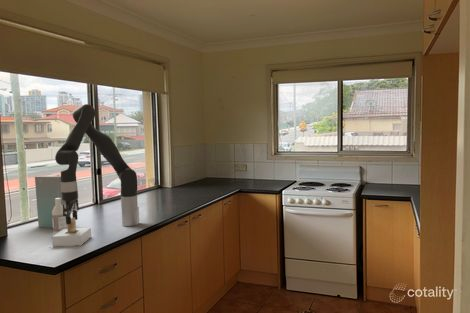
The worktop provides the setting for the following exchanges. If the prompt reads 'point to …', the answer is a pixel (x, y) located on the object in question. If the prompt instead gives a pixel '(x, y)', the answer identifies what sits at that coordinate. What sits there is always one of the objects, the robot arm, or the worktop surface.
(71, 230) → the peg
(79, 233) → the socket block
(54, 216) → the bath foam
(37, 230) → the worktop surface
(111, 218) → the worktop surface
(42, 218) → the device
